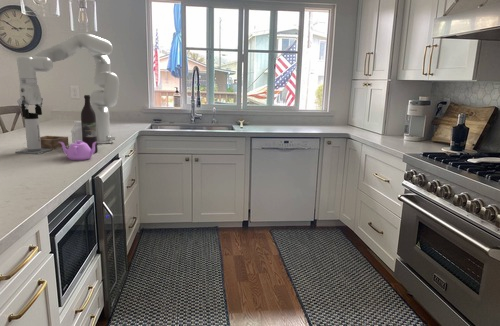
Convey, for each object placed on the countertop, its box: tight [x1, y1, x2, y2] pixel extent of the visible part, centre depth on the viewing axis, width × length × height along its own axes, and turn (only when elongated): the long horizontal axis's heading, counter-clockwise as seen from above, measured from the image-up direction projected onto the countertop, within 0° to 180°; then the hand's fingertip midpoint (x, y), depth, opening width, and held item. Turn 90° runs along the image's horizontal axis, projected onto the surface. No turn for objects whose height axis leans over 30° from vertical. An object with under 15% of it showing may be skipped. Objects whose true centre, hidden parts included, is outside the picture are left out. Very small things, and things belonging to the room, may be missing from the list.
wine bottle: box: [80, 94, 98, 154], centre depth 189 cm, size 7×7×30 cm
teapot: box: [59, 140, 98, 161], centre depth 177 cm, size 12×14×9 cm
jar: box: [70, 120, 83, 144], centre depth 203 cm, size 12×10×15 cm
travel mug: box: [23, 112, 41, 151], centre depth 188 cm, size 6×7×20 cm
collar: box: [40, 135, 69, 150], centre depth 204 cm, size 13×13×5 cm
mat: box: [15, 148, 54, 155], centre depth 190 cm, size 12×12×1 cm
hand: (32, 115), depth 187 cm, fingers open, 9 cm apart
